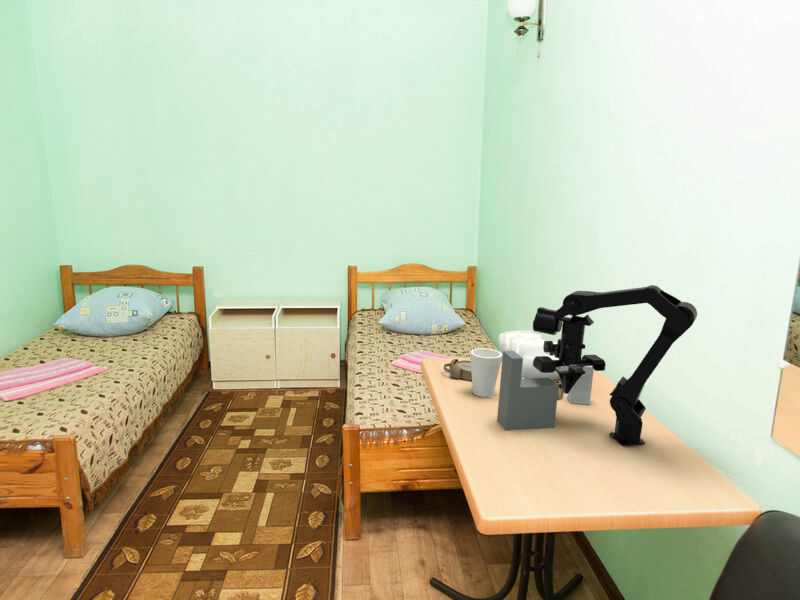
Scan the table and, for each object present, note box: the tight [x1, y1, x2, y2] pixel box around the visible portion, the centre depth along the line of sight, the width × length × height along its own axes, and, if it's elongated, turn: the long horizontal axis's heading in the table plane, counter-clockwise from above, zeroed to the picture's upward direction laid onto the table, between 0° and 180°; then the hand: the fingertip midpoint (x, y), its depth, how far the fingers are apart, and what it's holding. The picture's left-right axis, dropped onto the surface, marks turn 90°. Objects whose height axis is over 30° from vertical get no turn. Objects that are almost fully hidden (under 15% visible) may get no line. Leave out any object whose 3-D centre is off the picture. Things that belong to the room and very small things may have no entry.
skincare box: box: [566, 366, 595, 405], centre depth 170 cm, size 6×4×12 cm
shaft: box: [555, 382, 565, 402], centre depth 153 cm, size 5×13×5 cm, turn 102°
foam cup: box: [469, 347, 502, 398], centre depth 173 cm, size 10×9×13 cm
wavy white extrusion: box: [498, 329, 560, 382], centre depth 199 cm, size 35×16×11 cm, turn 9°
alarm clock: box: [443, 358, 472, 381], centre depth 189 cm, size 11×5×15 cm
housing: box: [496, 351, 559, 431], centre depth 152 cm, size 6×14×20 cm, turn 102°
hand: (565, 393), depth 155 cm, fingers closed
